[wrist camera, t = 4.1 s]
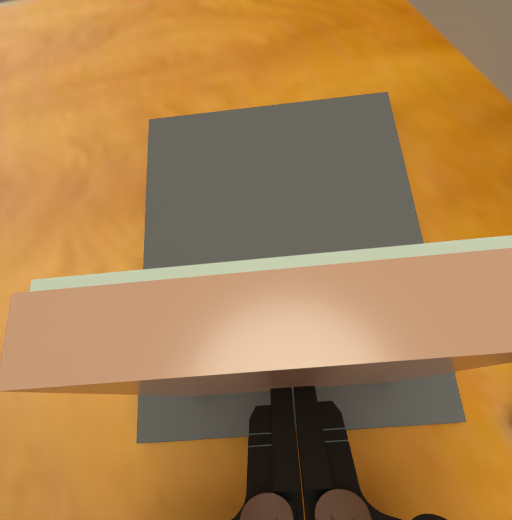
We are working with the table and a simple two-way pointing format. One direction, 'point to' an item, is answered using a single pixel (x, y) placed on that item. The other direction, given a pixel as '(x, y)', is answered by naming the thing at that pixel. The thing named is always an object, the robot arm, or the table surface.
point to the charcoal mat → (282, 233)
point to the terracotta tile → (265, 322)
